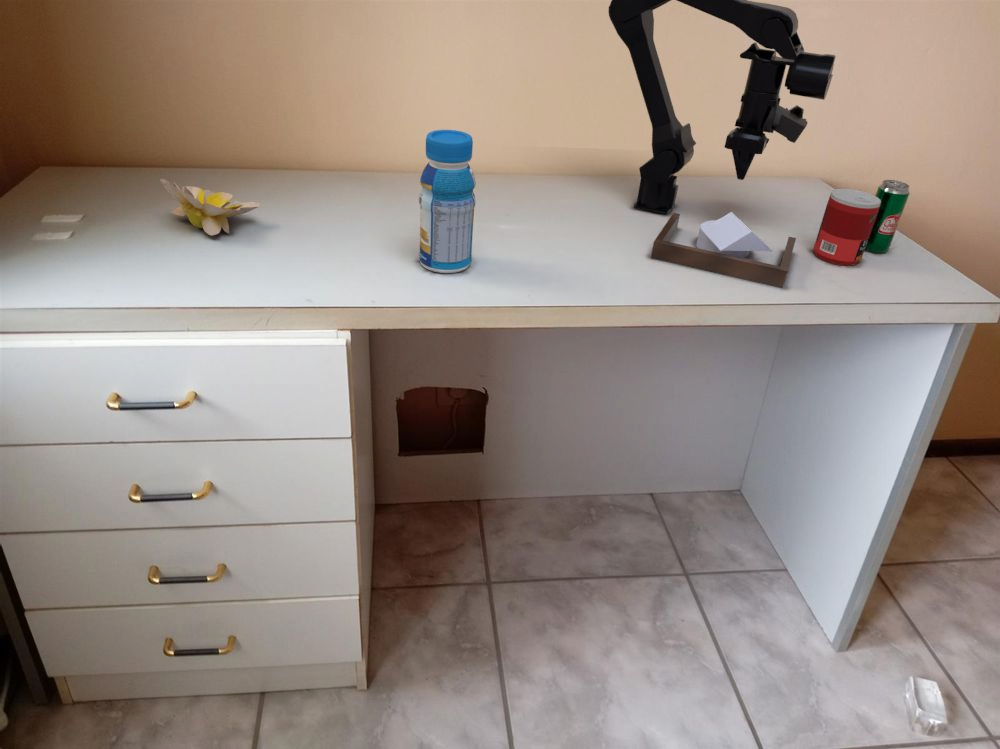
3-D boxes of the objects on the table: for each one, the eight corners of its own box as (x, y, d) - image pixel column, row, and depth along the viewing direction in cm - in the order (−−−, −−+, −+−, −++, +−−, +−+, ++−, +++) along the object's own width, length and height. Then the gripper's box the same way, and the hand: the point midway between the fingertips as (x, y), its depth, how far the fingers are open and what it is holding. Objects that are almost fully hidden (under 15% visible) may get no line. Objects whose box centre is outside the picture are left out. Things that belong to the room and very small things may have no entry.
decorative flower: (275, 220, 127) (254, 163, 121) (216, 252, 122) (191, 194, 115) (229, 200, 136) (207, 146, 130) (171, 229, 130) (145, 174, 124)
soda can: (874, 255, 137) (898, 190, 131) (852, 244, 141) (874, 180, 134) (894, 252, 139) (918, 187, 133) (871, 241, 143) (893, 177, 136)
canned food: (864, 269, 132) (886, 207, 126) (815, 262, 133) (834, 200, 127) (855, 251, 138) (876, 192, 132) (809, 245, 139) (827, 185, 133)
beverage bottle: (451, 280, 117) (456, 148, 106) (407, 264, 121) (407, 135, 110) (482, 262, 124) (490, 135, 113) (439, 247, 127) (442, 123, 116)
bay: (650, 258, 129) (653, 241, 128) (670, 228, 141) (673, 212, 140) (782, 287, 123) (787, 270, 122) (791, 253, 135) (796, 237, 134)
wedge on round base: (767, 269, 129) (736, 238, 139) (778, 231, 125) (745, 202, 136) (716, 269, 127) (689, 237, 138) (725, 231, 124) (696, 201, 134)
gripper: (806, 108, 122) (780, 203, 130) (815, 86, 137) (791, 173, 145) (735, 97, 125) (714, 190, 134) (751, 77, 140) (731, 162, 148)
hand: (740, 179), depth 140 cm, fingers closed
